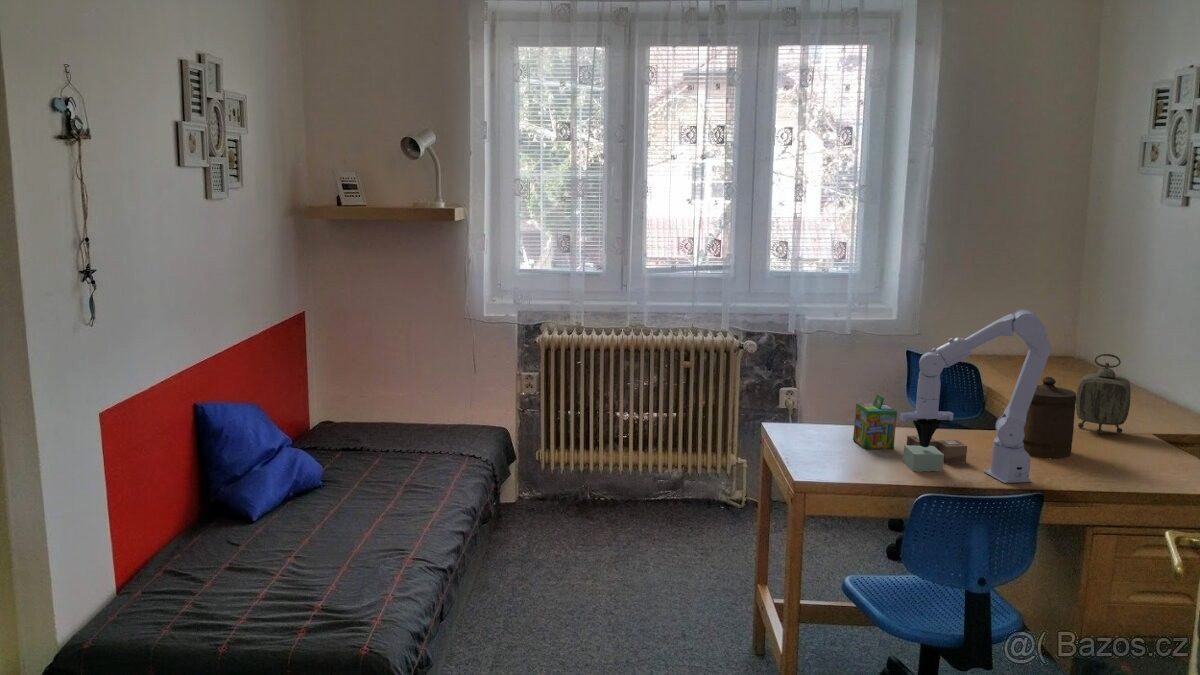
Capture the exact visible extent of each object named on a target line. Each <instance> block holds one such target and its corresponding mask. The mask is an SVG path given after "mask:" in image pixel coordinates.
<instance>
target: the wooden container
mask: <svg viewBox="0 0 1200 675" xmlns="http://www.w3.org/2000/svg"><path fill="white" fill-rule="evenodd" d="M1056 383H1057V381H1056V379H1055V378H1053V377H1052V376H1046V377H1044V378H1042V384H1040V385H1039V384H1038V385H1037V388H1036V391H1035V393H1034V396H1033V399H1032V401H1031V404H1030V406H1029V409H1028V412H1027V416H1026V423H1025V425H1024V435H1025V436H1024V440H1023V443H1024V445H1023V446H1024V450H1025V451H1026V452H1027V453H1028V454H1029V456H1030V457H1033V456H1034V458H1038V457H1039V459H1046V458H1048V460H1062V459H1061V458H1063V459H1067V458H1066V457H1068V458H1070V457H1071V455H1072V450H1073V449H1072V448H1073V438H1074V428H1075V413H1076V397H1077V392H1075V391H1074V390H1071V389H1067V388H1063V387H1060V386H1059V387H1058V386H1056V385H1055V384H1056ZM1069 456H1070V457H1069ZM1049 458H1051V459H1049Z"/></svg>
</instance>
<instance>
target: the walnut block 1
mask: <svg viewBox="0 0 1200 675" xmlns="http://www.w3.org/2000/svg"><path fill="white" fill-rule="evenodd" d="M937 442H938V441H936V439H934V438H933V437H932V438H931V440H930V443H929V446H934V447H935V448H937ZM906 445H912V446H920V442H919V436H918V434H917V435H906Z"/></svg>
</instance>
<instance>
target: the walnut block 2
mask: <svg viewBox="0 0 1200 675" xmlns="http://www.w3.org/2000/svg"><path fill="white" fill-rule="evenodd" d="M935 440H936V439H935ZM936 441H938V442H937V449H938V450H939V451H940V452H941V453H943V454H944V462H943V464H946V463H949V464H966V463H967V453H968V445H966V444H965V443H963V442H961V441H959V440H957V439H937V440H936Z"/></svg>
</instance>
